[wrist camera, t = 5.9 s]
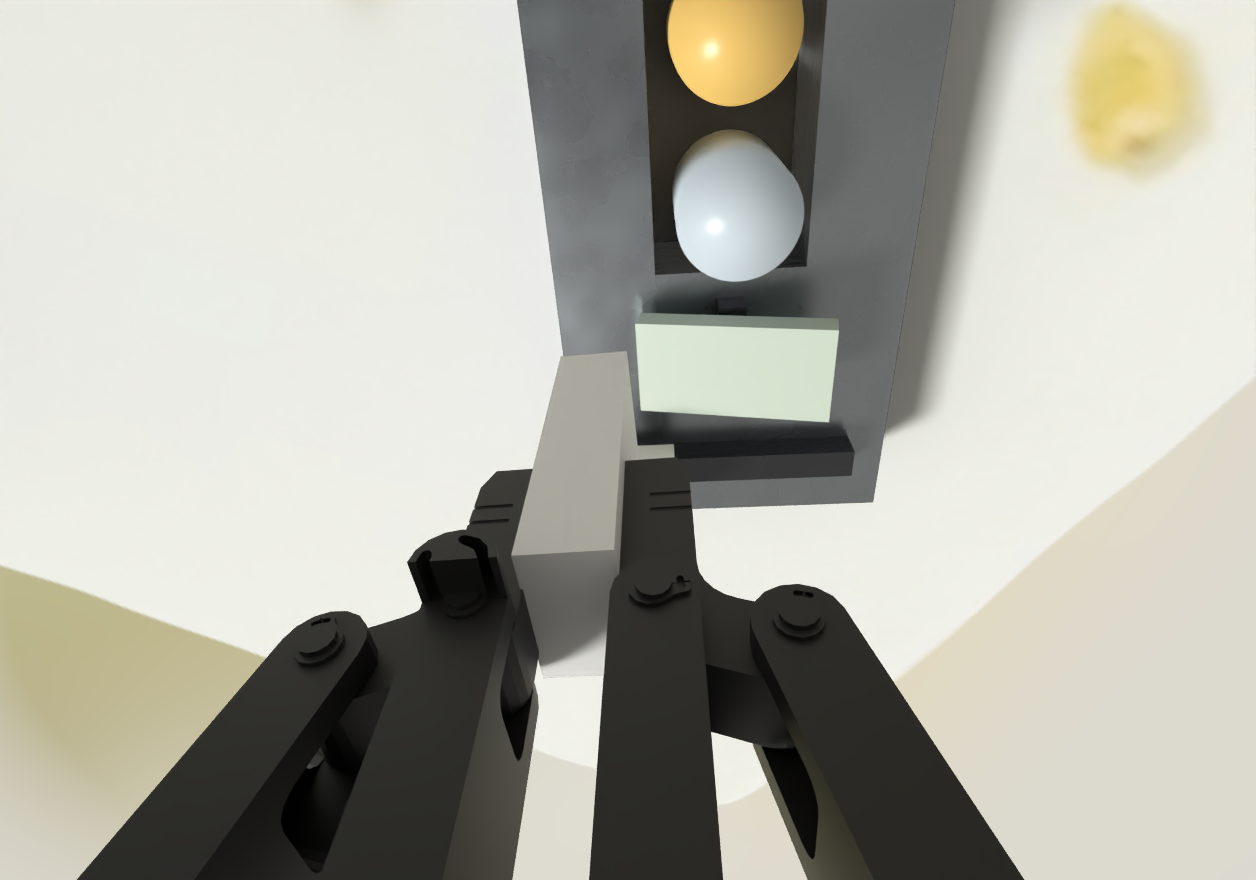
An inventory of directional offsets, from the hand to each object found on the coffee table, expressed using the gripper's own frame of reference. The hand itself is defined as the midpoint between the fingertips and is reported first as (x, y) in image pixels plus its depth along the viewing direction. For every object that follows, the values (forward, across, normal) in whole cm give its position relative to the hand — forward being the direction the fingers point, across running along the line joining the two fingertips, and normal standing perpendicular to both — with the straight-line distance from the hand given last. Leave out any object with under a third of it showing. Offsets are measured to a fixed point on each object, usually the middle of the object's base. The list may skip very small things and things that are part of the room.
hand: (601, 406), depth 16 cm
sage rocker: (+9, +4, -4) cm, 10 cm away
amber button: (+14, +4, +7) cm, 16 cm away
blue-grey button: (+12, +4, +2) cm, 13 cm away
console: (+15, +4, -1) cm, 15 cm away
